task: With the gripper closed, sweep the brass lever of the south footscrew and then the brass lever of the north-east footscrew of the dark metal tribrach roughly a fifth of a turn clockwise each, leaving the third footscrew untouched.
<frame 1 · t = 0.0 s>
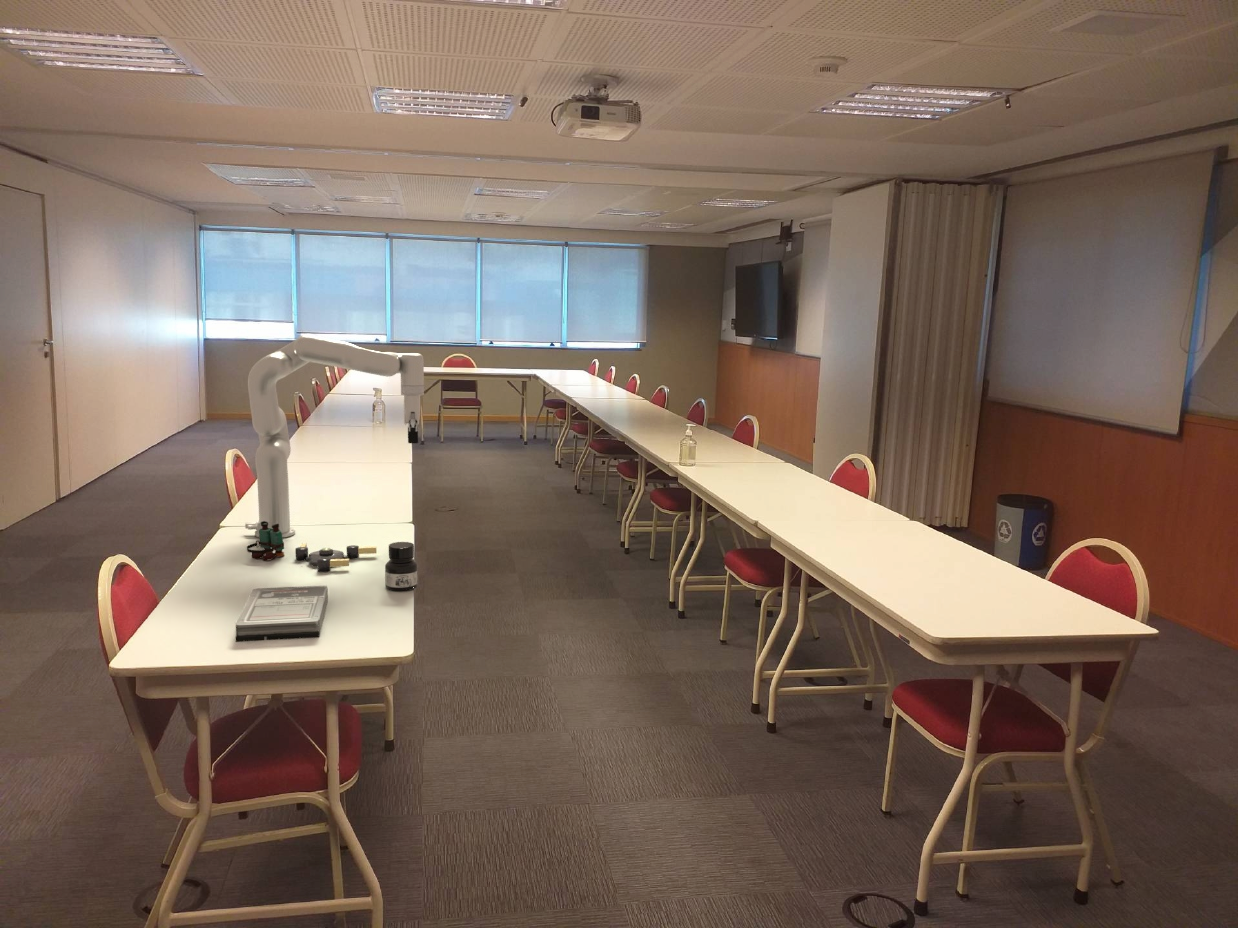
hand: (412, 440, 303), 31 cm above the table, fingers open, 9 cm apart
knob s: (333, 564, 261), point 2 cm above the table, hinge at 0.0°
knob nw: (302, 551, 274), point 2 cm above the table, hinge at 0.0°
ink bottle: (401, 587, 248), on the table
hard drive: (285, 621, 221), on the table
tribrach plate: (326, 562, 269), on the table
binoculars: (266, 558, 272), on the table
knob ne: (361, 551, 275), point 2 cm above the table, hinge at 0.0°
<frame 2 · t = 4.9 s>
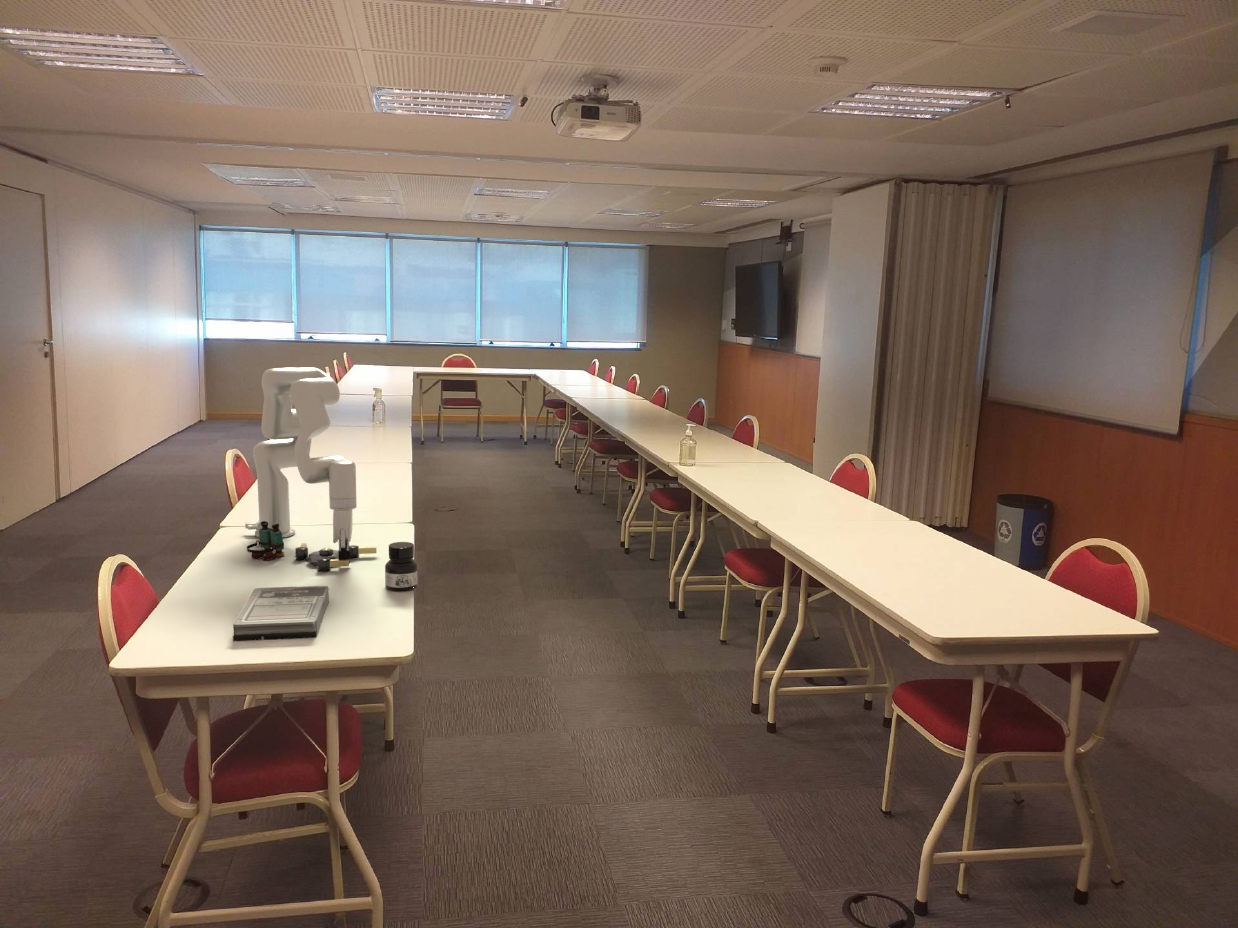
hand: (344, 563, 264), 1 cm above the table, fingers closed
knob s: (333, 564, 261), point 2 cm above the table, hinge at -1.6°, touching gripper
everything else where it was.
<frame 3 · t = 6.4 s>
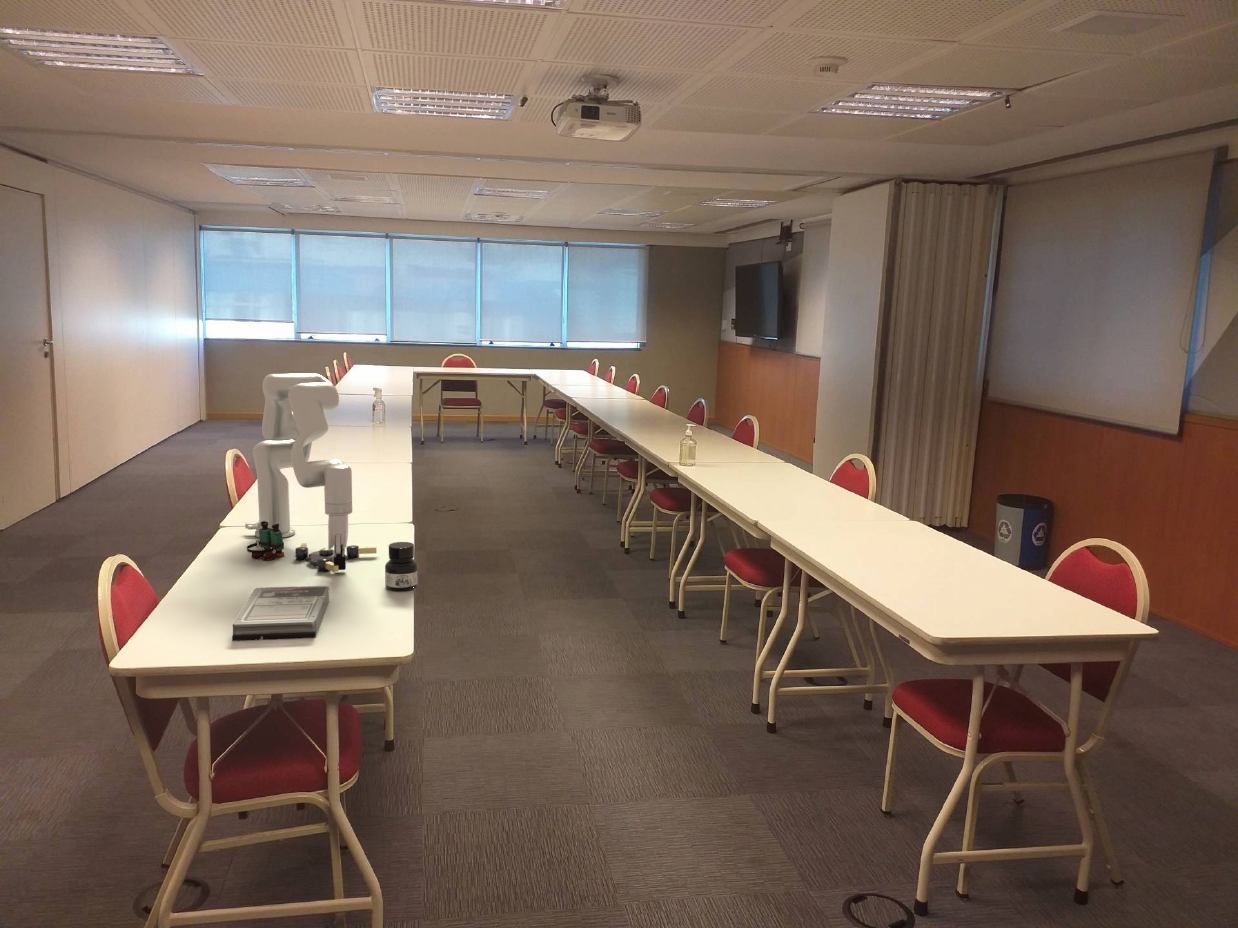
hand: (339, 569, 260), 1 cm above the table, fingers closed
knob s: (328, 566, 259), point 2 cm above the table, hinge at -57.0°, touching gripper
everything else where it was.
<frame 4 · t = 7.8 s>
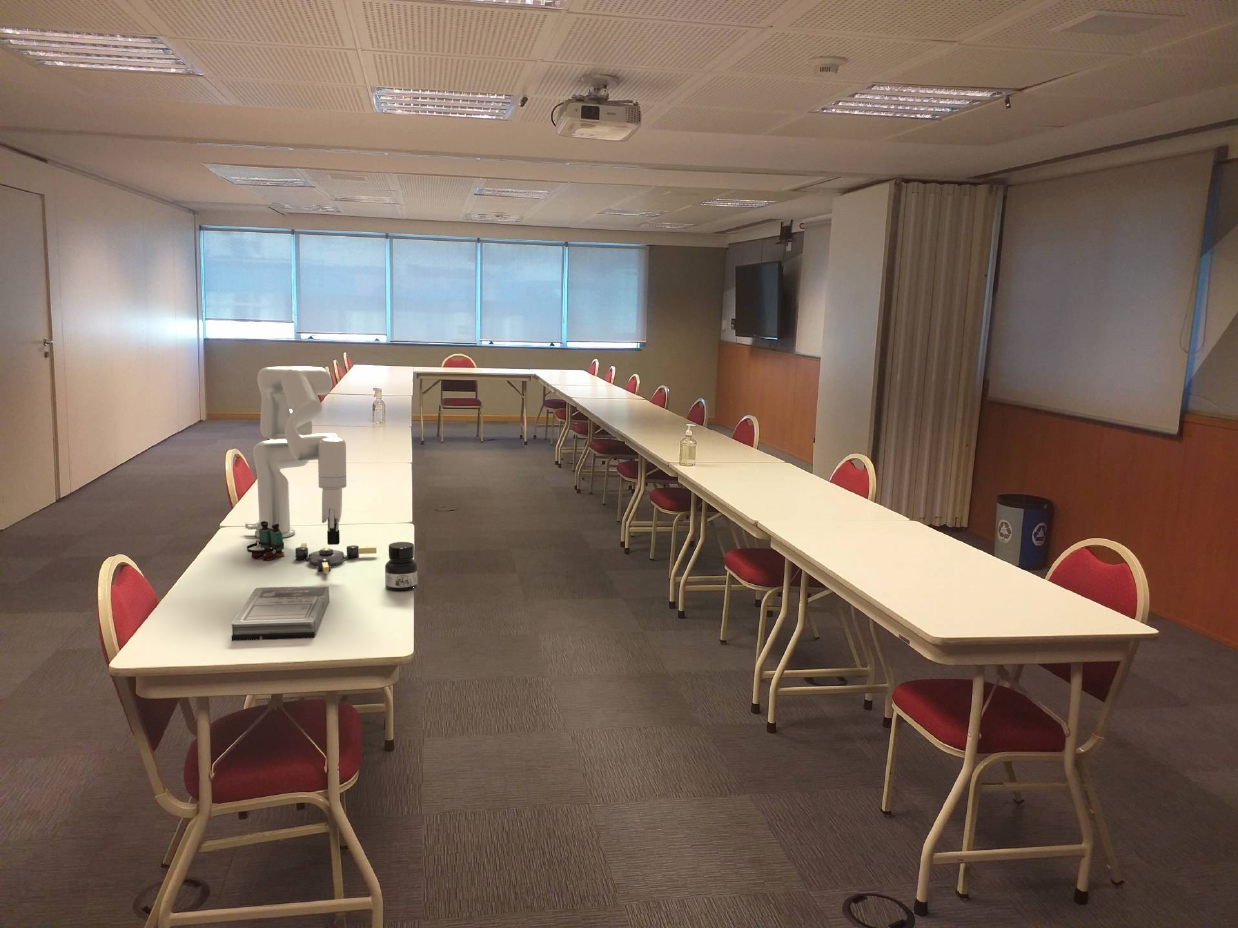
hand: (333, 543, 257), 9 cm above the table, fingers closed
knob s: (324, 567, 258), point 2 cm above the table, hinge at -80.3°
everything else where it was.
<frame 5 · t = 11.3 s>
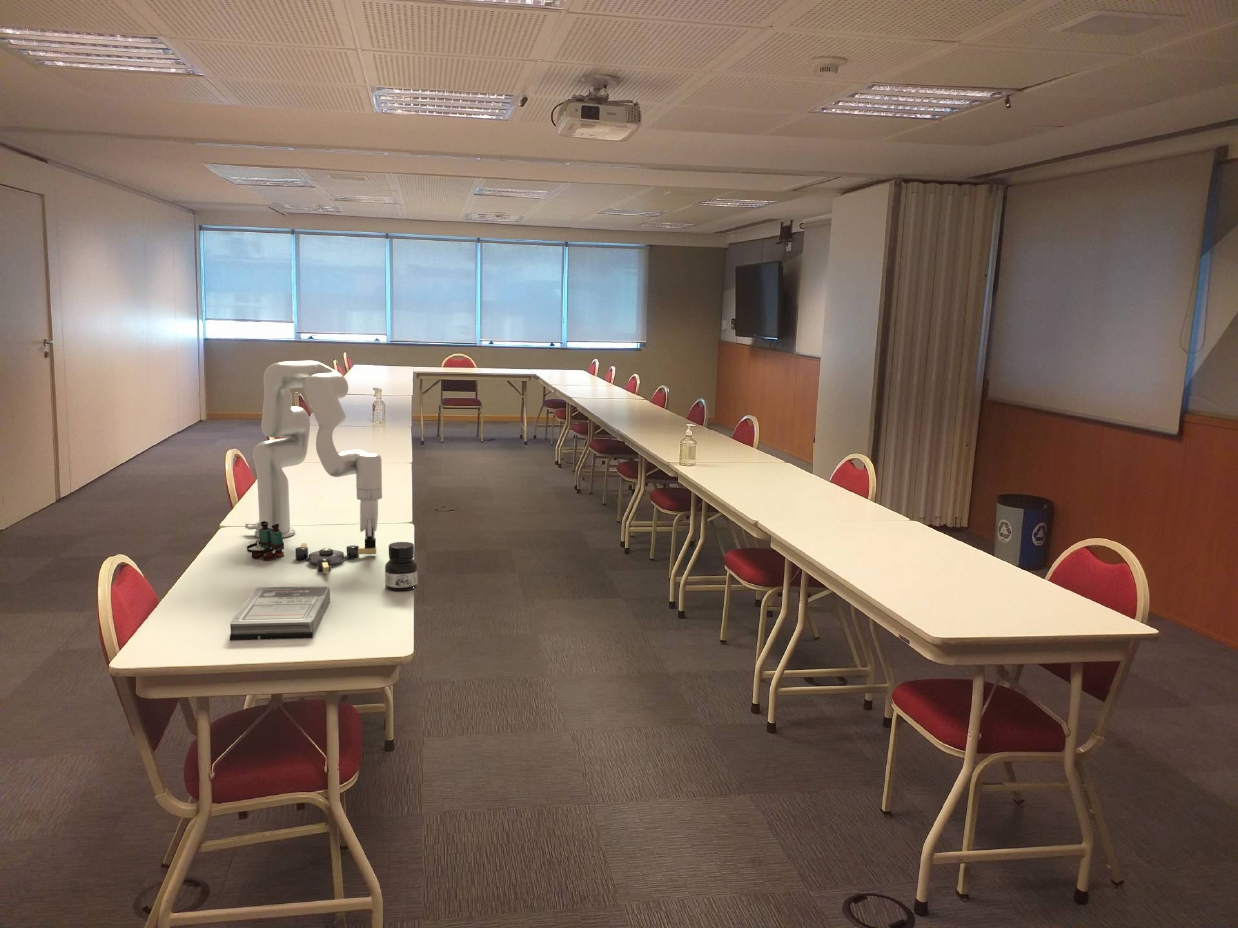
hand: (370, 551, 278), 1 cm above the table, fingers closed
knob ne: (361, 552, 275), point 2 cm above the table, hinge at -8.1°, touching gripper
everything else where it was.
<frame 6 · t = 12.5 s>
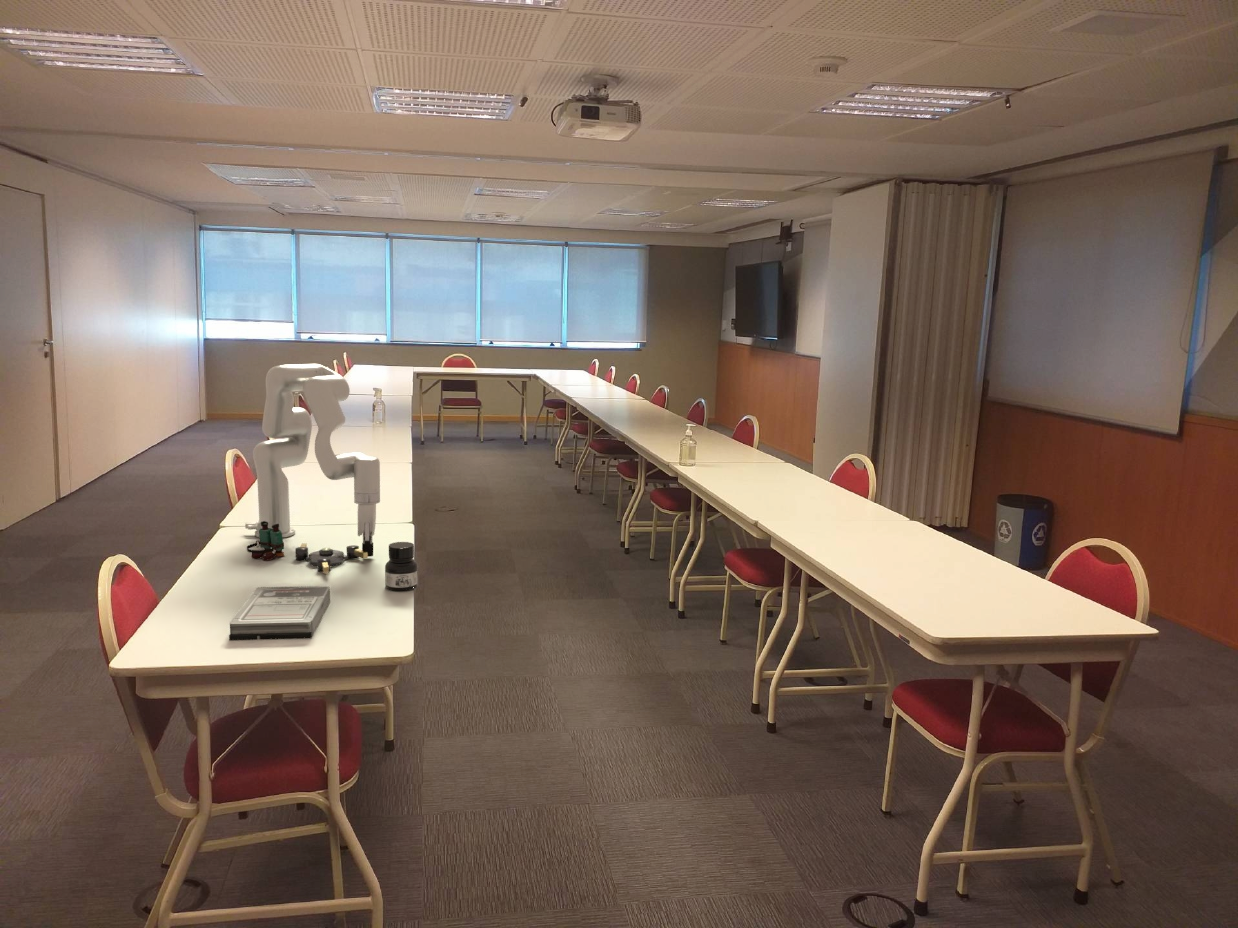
hand: (367, 555, 274), 1 cm above the table, fingers closed
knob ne: (357, 553, 273), point 2 cm above the table, hinge at -55.3°, touching gripper
everything else where it was.
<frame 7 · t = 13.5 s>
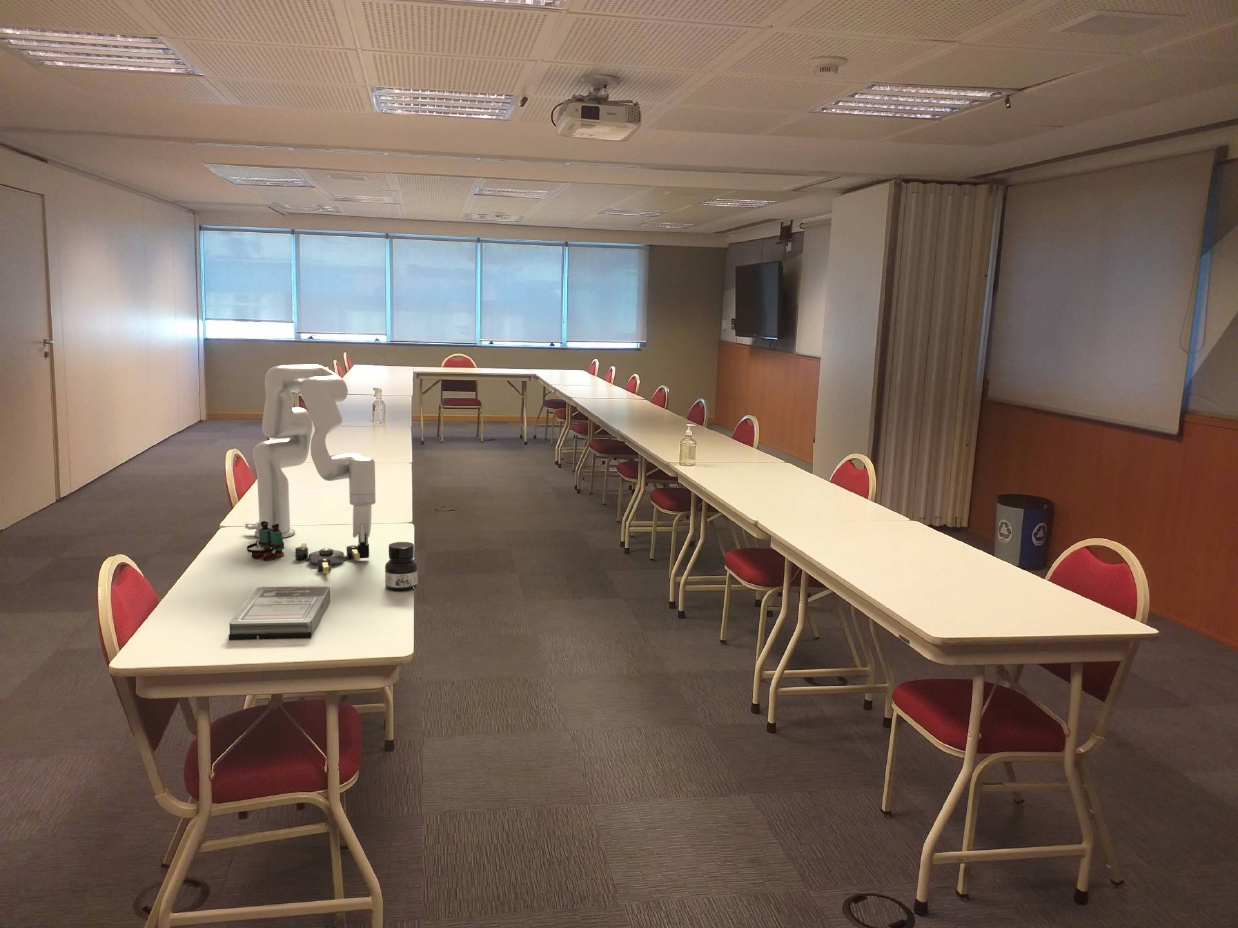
hand: (363, 557, 272), 1 cm above the table, fingers closed
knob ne: (354, 554, 272), point 2 cm above the table, hinge at -76.4°, touching gripper
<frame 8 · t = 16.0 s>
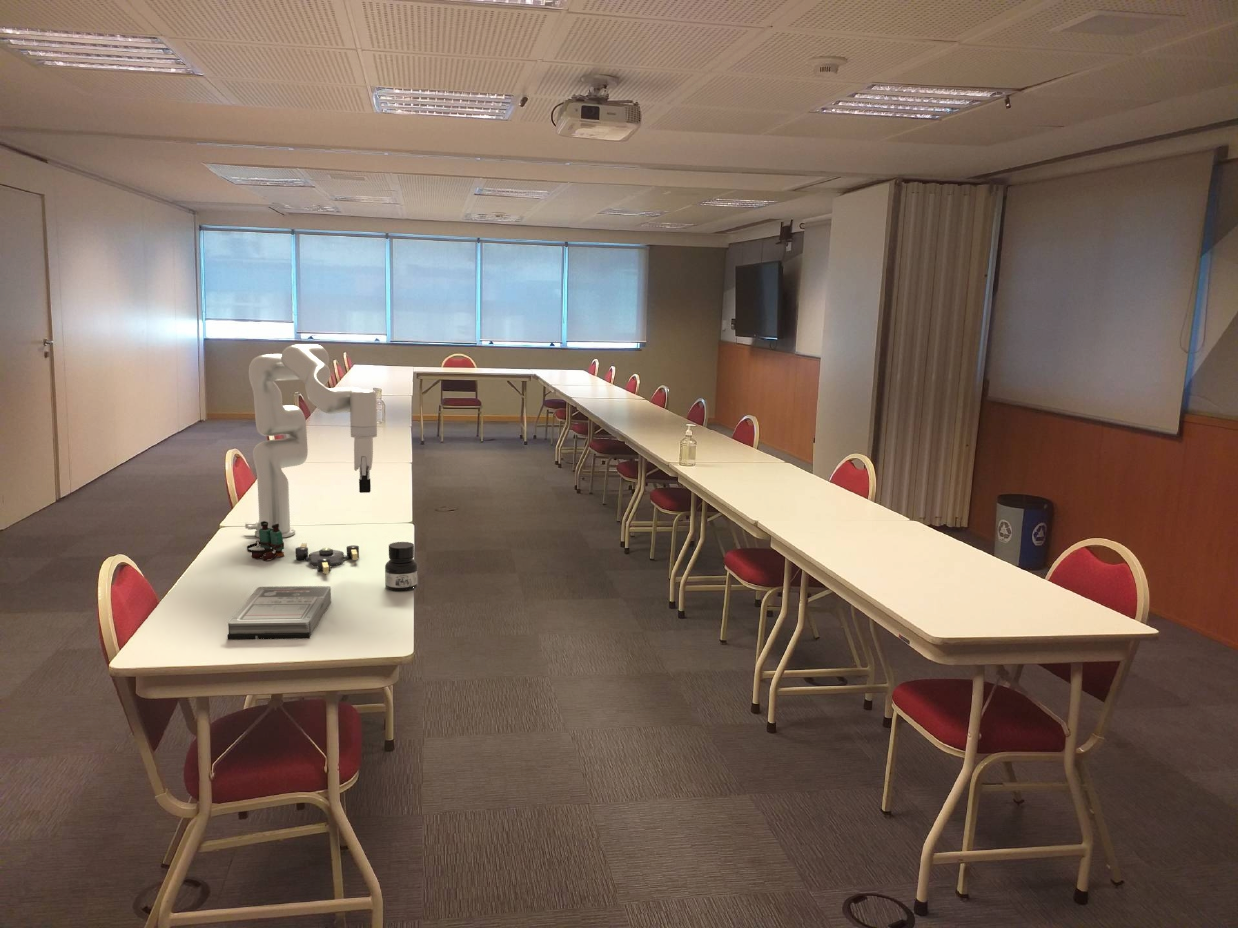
hand: (365, 491, 269), 21 cm above the table, fingers closed
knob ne: (353, 554, 272), point 2 cm above the table, hinge at -81.7°
at the end: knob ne at -82° (first picture: +0°); knob s at -80° (first picture: +0°); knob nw at +0° (first picture: +0°) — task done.
